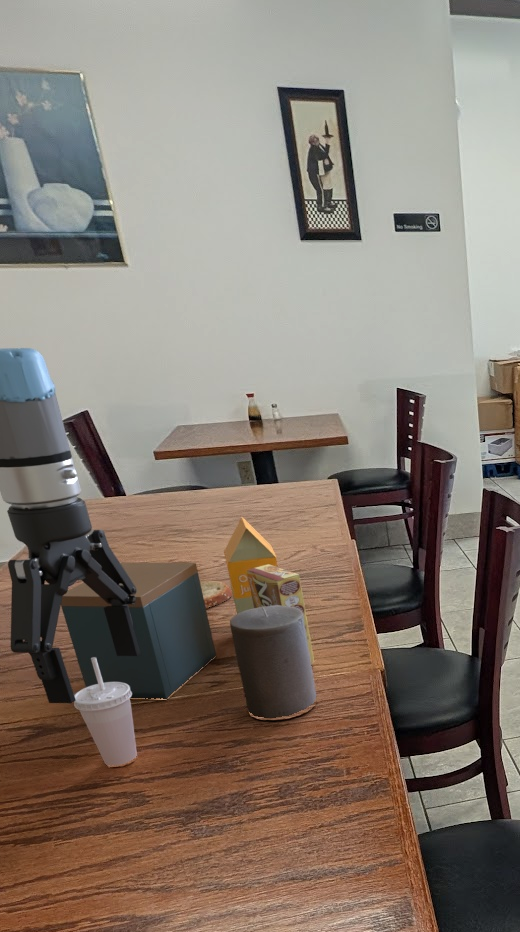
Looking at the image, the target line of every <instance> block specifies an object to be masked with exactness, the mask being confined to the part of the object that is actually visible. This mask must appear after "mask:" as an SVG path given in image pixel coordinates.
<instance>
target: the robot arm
mask: <svg viewBox="0 0 520 932" xmlns="http://www.w3.org/2000/svg"><path fill="white" fill-rule="evenodd" d="M81 493H82V487H81V485H80V481H79V477H78V474H77V470H76V467H75V464H74V460H73V455H72V451H71V447H70V445H69V440H68V437H67V432H66V429H65V425H64V420H63V418H62V414H61V410H60V406H59V402H58V398H57V394H56V386H55V383H54V382H53V380H52V378H51V376H50V373H49V370H48V366H47V364H46V361H45V358H44V356H43V355H42V354H41V353H40V351H38V350H36V349H34V348H31V347H20V348H15V347H12V348H11V347H9V348H0V495H1V499H2V500H3V502H5V503H6V504H9V505H10V506H9V507H8V509H7V510H6V512H7V515H8V518H9V521H10V525H11V528H12V531H13V534H14V537H15V539H16V540H17V541H18V542H20V543H22V544H24V545H25V546H26V547H27V550H28V551H27V552H28V558H25V559H10V560H8V562H7V567H8V573H9V577H10V580H11V600H10V601H11V605H10V606H11V608H10V610H11V611H10V650H11V652H12V653H14V654H26V653H27V654H29V655H30V658H31V661H32V664H33V666H34V670H35V672H36V675H37V678H38V679H39V680H41V683H42V685H43V686H42V687H43V689H44V692H45V695H46V697H47V698H46V699H47V700H48V703H49V704H74V701H76V699H75V696H74V695H75V693H74V690H73V687H72V684H71V680H70V677H69V674H68V672H67V668H66V665H65V662H64V658H63V655H62V652H61V649H60V647H54V641H55V637H56V631H57V625H58V620H59V615H60V612H61V611H60V610H61V601H62V596H63V595H64V594H66V593H67V591H69V587H72V586H73V585H75V583H76V582H77V581H82V583H85V584H86V585H87V586H89V587H90V588H91V589H92V590H93V591H94V592H95V593H96V594H98V595H99V596H100V597H101V598H102V599H103V600H104V601H106V602H107V603H108V604H111V606H106V607H104V612H105V615H106V619H107V622H108V626H109V629H110V633H111V636H112V640H113V643H114V647H115V650H116V654H117V656H138V655H139V654H140V651H139V647H138V643H137V640H136V636H135V632H134V629H133V622H132V618H131V614H130V610H129V607H128V604H135V602H136V598H135V596H134V595H135V594H136V591H137V590H136V587H135V585H134V584H133V582H132V580H131V579H130V577H129V576H128V574H127V573H126V571H125V570H124V568H123V567H122V565H121V564H120V563H121V562H120V561H119V559H118V557H117V556H116V555H115V553H114V551H113V549H112V548H111V546H110V545H109V542H108V538H107V536H106V533H105V532H104V530H103V529H92V528H93V526H92V523H91V519H90V515H89V512H88V511H89V510H88V507H87V504H86V501H85V500H84V499H82V498H81V497H79V496H80V494H81ZM120 584H123V585H120Z"/></svg>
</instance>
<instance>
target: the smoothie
mask: <svg viewBox="0 0 520 932" xmlns="http://www.w3.org/2000/svg"><path fill="white" fill-rule="evenodd" d="M91 661H92V664H93V667H94V671H95V674H96V678H97V681H98V684H96V685H92V686H89V687H86V686H85V687H84V688H82V689H80V690H79V691H77V692H76V693H74V696H75V699H76V701H74V702H73V706H74V708H75V709H76V710H79V712H80V715H81V717H82V719H83V721H84V723H85V725H86V728H87V729H88V731H89V733H90V735H91V738H92V739H93V742H94V744H95V746H96V748H97V750H98V753H99V755H100V756H101V758H102V760H103V763H104V765H105V764H106V765H110V766H112V765H114V766H115V765H122V764H125V763H127V762H129V761H131V760H133V759H134V758H136V756H137V757H138V751H137V743H136V735H135V726H134V719H133V711H132V703H131V700H130V697H131V696H132V692H131V690H130V686H129V685H128V684H126V683H122V682H106V683H103V680H102V676H101V673H100V670H99V666H98V663H97V659H96V657H92V658H91ZM106 765H105V766H106Z"/></svg>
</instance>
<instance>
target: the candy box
mask: <svg viewBox="0 0 520 932" xmlns="http://www.w3.org/2000/svg"><path fill="white" fill-rule="evenodd" d="M247 576H248V580H249V586H250V590H251V595H252V600H253V605H254V608H259V607H267V606H274V605H281V606H289V607H294V608H297V609H300V611H302V612H303V618H304V624H305V630H306V636H307V642H308V648H309V654H310V659H311V664H312V663H314V662H315V657H314V652H313V646H312V639H311V635H310V629H309V622H308V617H307V611H306V605H305V600H304V594H303V589H302V583H301V577H300V574H299V573H295V572H294V571H290V570H288V569H284V568H281V567H275V566H272V565H269V564H268V565H264V566H260V567H256V568H252V569H249V570H247Z"/></svg>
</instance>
